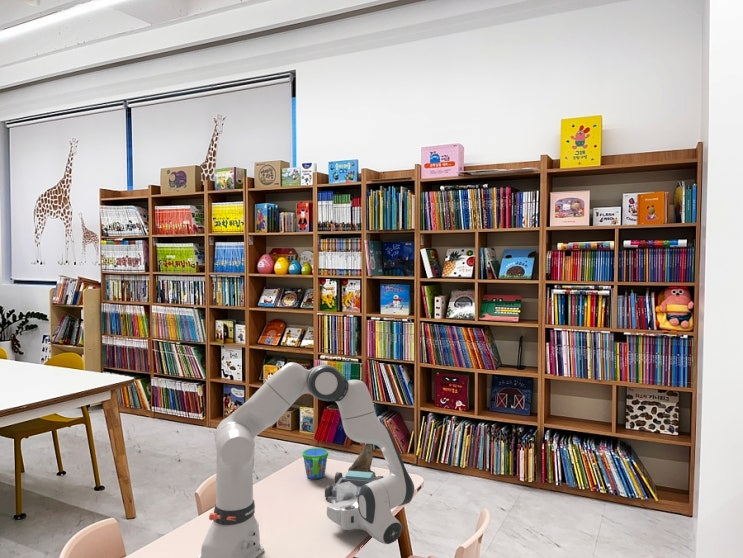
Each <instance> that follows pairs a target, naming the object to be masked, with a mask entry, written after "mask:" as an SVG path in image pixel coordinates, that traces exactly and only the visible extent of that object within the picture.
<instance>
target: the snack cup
mask: <svg viewBox="0 0 743 558" xmlns="http://www.w3.org/2000/svg"><path fill="white" fill-rule="evenodd" d="M328 456H329V450H328V449H325V448H321V447H314V448H313V447H311V448H308V449H305V450H303V451H302V457H303V463H304V468H305V476H306V477H307V479H311V480H312V479H313V480H319V479H322V478H324V477H325V475H326V469H327V468H326V467H327V461H328Z"/></svg>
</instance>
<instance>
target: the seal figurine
mask: <svg viewBox="0 0 743 558" xmlns="http://www.w3.org/2000/svg"><path fill="white" fill-rule="evenodd" d="M373 458H374V454H373V444H367V443H364V445H363V447H362V450H361V452H360V453H359V455H358V457H357V458H356V459H355V460H354V461H353V463H352V464H351V466H350V467H348V470H347V471H360V472H372V473H373V478H374V477H376V472H375V471H373V470H372V469H371V467H372V463H373Z"/></svg>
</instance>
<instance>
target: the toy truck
mask: <svg viewBox="0 0 743 558" xmlns="http://www.w3.org/2000/svg"><path fill="white" fill-rule="evenodd" d="M347 471H348V470H347ZM383 477H384V476H383V475H378V476H377V478H376V479H374V477H373V473H372V472H360V471H348V472H347V473H346V474H345V476H343V473H342V472H337V471H336V472H335V474H334V484H335V485H334V486H333V485H330V484H329V485H328V484H327V485H326V486H325V489H324V497H325V498H327V502H329V503H331V500H334V499H336V500H337V484H340V483H344V482H348V481H349V482H351V483H352V484H354V485H355V486H356V493H359V491H360V489H361V487H362V486H363V485H365V484H367V483H370V482H372V481H375V480H378V479H381V478H383Z"/></svg>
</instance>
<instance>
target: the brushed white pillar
mask: <svg viewBox="0 0 743 558" xmlns="http://www.w3.org/2000/svg"><path fill="white" fill-rule="evenodd" d="M353 498H356V486H355V485H354V484H352V483H351V482H349V481H348V482H344V483H340V484H337V501H338V502H342V501H345V500H349V499H353ZM338 502H337V503H338Z"/></svg>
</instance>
